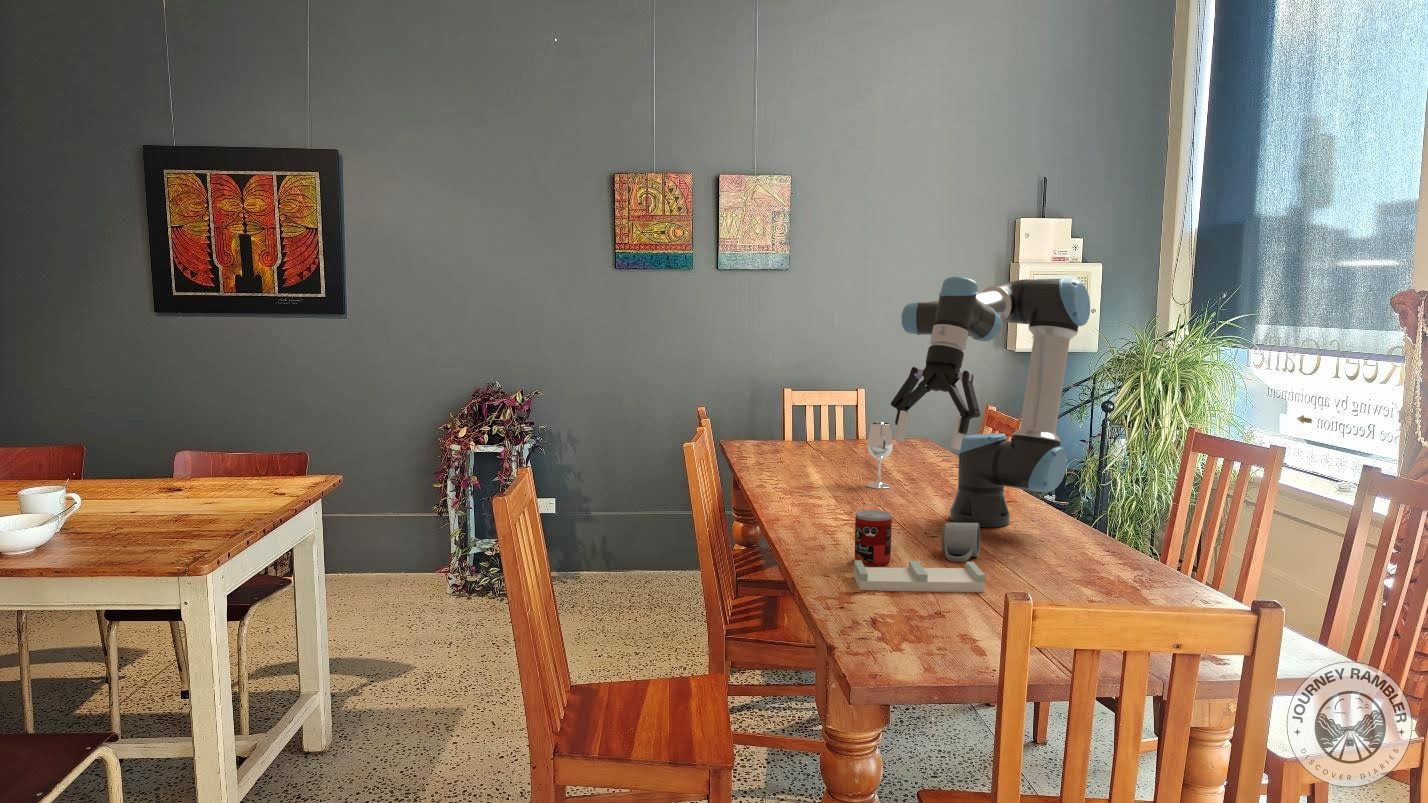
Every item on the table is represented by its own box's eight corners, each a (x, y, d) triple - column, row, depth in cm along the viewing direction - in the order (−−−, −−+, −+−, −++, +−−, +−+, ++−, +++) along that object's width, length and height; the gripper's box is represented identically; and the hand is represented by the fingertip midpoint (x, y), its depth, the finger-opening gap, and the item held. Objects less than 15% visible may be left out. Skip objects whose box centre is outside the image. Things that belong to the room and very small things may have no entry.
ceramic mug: (944, 547, 203) (945, 516, 202) (980, 551, 200) (981, 519, 199) (937, 561, 193) (938, 528, 192) (975, 565, 190) (976, 532, 189)
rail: (972, 577, 181) (973, 561, 181) (984, 592, 172) (985, 575, 172) (853, 576, 182) (854, 560, 182) (859, 590, 173) (860, 573, 173)
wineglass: (877, 482, 275) (878, 420, 272) (896, 486, 269) (898, 423, 266) (861, 485, 270) (862, 423, 267) (880, 490, 264) (882, 425, 261)
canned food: (848, 558, 194) (849, 511, 193) (878, 555, 197) (880, 508, 196) (865, 568, 187) (866, 519, 186) (897, 564, 190) (898, 516, 189)
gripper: (888, 341, 190) (867, 434, 188) (992, 345, 172) (971, 448, 170) (906, 350, 195) (886, 441, 193) (1009, 356, 177) (988, 456, 175)
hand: (926, 444), depth 181 cm, fingers open, 13 cm apart
